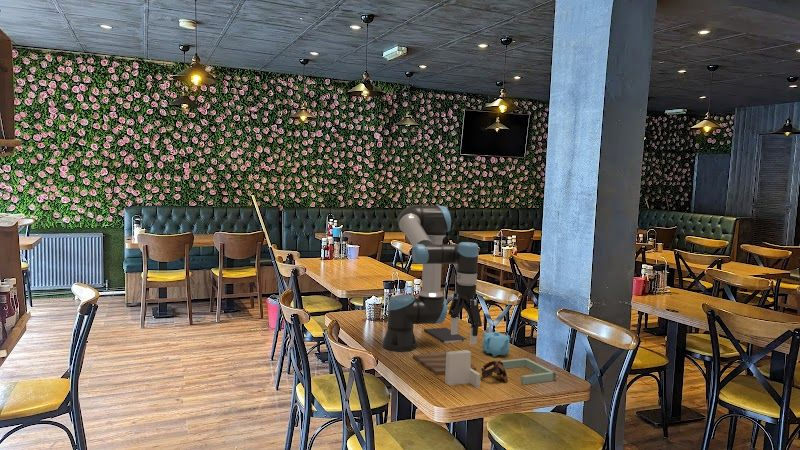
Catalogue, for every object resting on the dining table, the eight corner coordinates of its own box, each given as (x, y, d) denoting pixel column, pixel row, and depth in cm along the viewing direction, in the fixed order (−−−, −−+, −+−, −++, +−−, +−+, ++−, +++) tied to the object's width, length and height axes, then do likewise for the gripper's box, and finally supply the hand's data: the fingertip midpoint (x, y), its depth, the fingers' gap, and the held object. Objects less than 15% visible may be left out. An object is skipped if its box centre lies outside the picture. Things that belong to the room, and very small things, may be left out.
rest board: (412, 357, 241) (412, 355, 241) (449, 354, 249) (449, 351, 248) (436, 374, 221) (436, 372, 221) (475, 370, 229) (476, 367, 229)
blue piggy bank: (472, 350, 256) (473, 328, 255) (496, 346, 263) (497, 325, 262) (497, 362, 241) (498, 339, 240) (522, 358, 247) (523, 335, 247)
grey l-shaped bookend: (438, 378, 218) (440, 348, 217) (462, 375, 222) (463, 345, 221) (455, 390, 206) (457, 358, 205) (479, 387, 210) (481, 355, 209)
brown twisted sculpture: (506, 387, 213) (496, 368, 212) (485, 392, 218) (475, 374, 217) (514, 370, 223) (504, 352, 222) (493, 375, 228) (484, 358, 227)
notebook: (423, 332, 284) (443, 344, 265) (423, 329, 284) (444, 340, 265) (445, 330, 290) (467, 342, 270) (445, 327, 289) (467, 338, 270)
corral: (495, 368, 232) (495, 361, 232) (525, 364, 238) (526, 358, 238) (523, 384, 215) (523, 377, 214) (555, 380, 221) (556, 372, 221)
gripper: (441, 278, 221) (438, 331, 223) (475, 290, 198) (472, 349, 200) (457, 277, 224) (455, 329, 226) (493, 289, 202) (490, 347, 203)
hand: (463, 339), depth 213 cm, fingers open, 13 cm apart
